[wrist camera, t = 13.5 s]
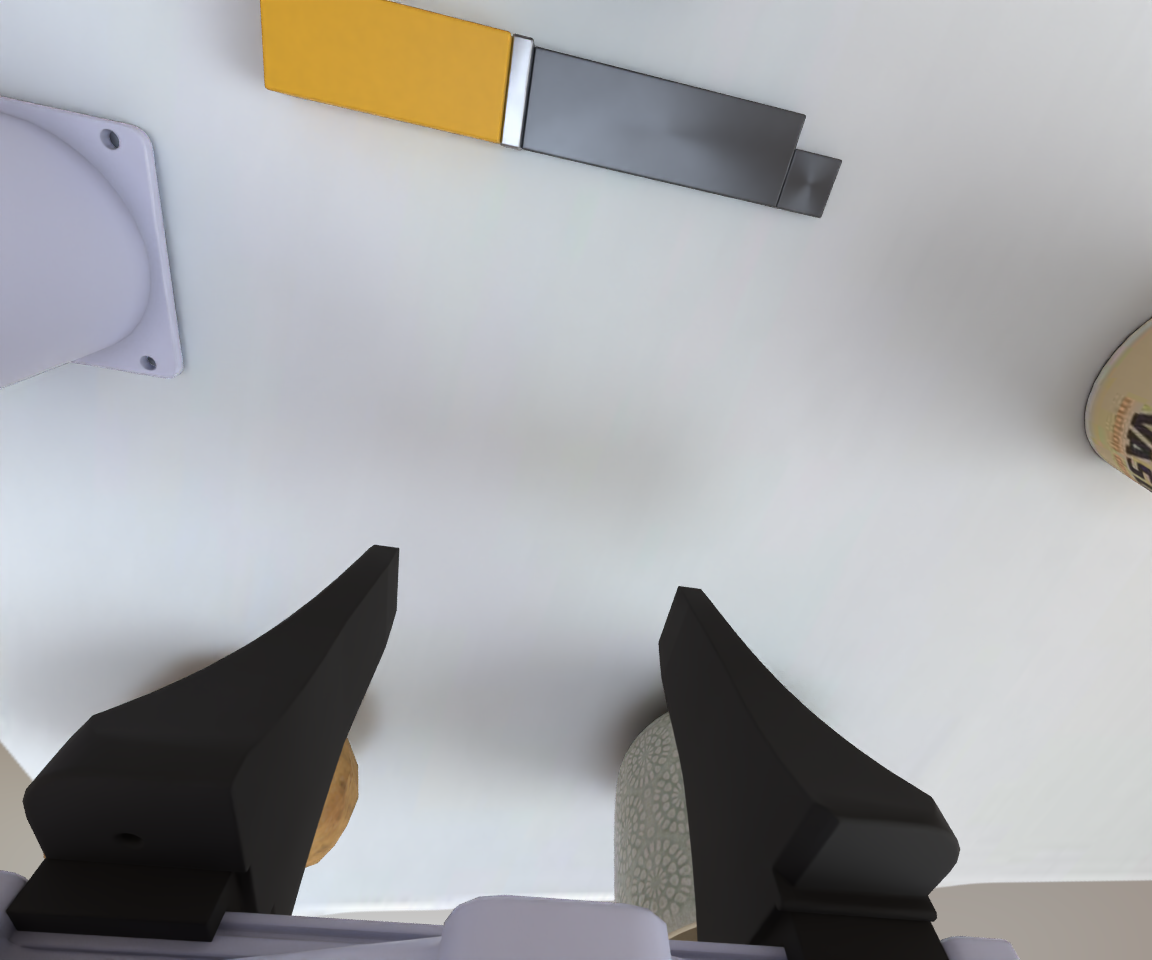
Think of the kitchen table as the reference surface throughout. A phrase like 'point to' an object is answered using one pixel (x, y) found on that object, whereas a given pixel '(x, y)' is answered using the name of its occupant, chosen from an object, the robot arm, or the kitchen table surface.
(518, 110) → the knife
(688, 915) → the planter
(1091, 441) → the coffee cup
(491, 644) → the kitchen table surface
